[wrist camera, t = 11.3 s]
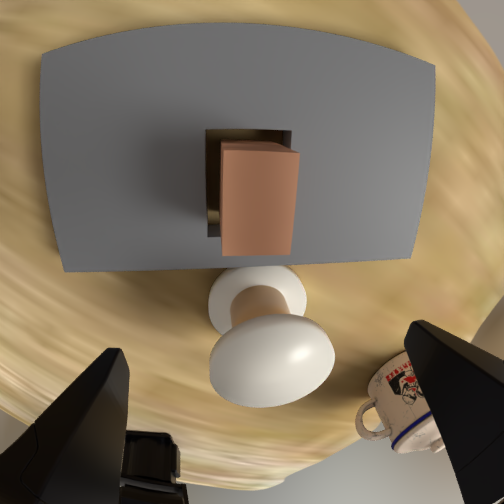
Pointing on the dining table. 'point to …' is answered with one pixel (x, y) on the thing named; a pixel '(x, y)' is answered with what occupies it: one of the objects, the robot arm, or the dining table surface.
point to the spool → (265, 338)
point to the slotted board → (231, 117)
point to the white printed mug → (400, 409)
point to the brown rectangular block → (257, 197)
